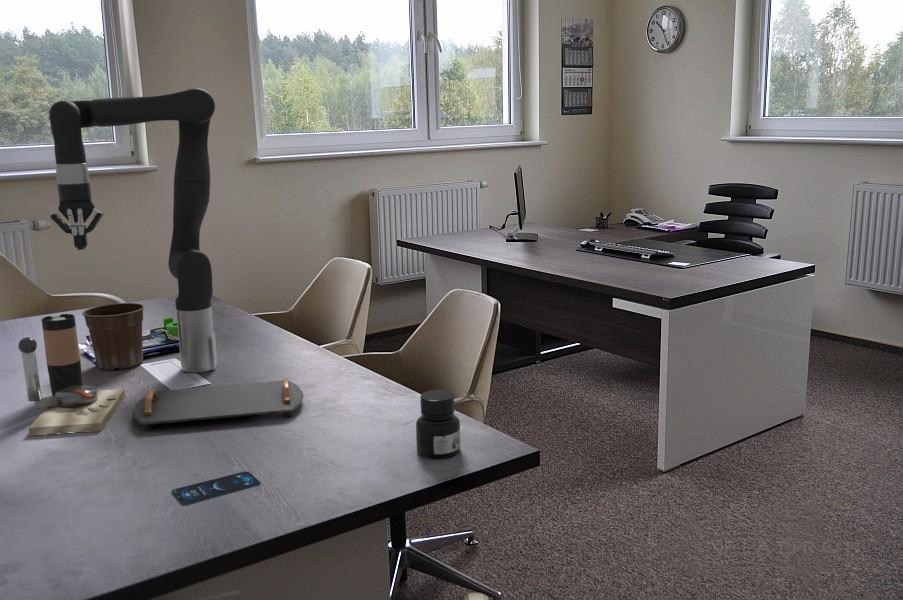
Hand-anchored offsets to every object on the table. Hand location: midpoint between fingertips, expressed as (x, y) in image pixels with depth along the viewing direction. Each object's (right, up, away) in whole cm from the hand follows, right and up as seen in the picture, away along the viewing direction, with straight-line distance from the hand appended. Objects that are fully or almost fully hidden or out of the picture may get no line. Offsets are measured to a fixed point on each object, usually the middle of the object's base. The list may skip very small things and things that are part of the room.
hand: (81, 249), depth 217 cm
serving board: (+41, -40, -18) cm, 60 cm away
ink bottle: (+93, -44, -45) cm, 112 cm away
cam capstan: (+6, -38, -20) cm, 43 cm away
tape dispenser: (+8, -25, +52) cm, 58 cm away
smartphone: (+52, -49, -60) cm, 93 cm away
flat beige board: (+9, -40, -20) cm, 46 cm away
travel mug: (-1, -37, -5) cm, 37 cm away
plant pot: (+2, -31, +21) cm, 38 cm away
